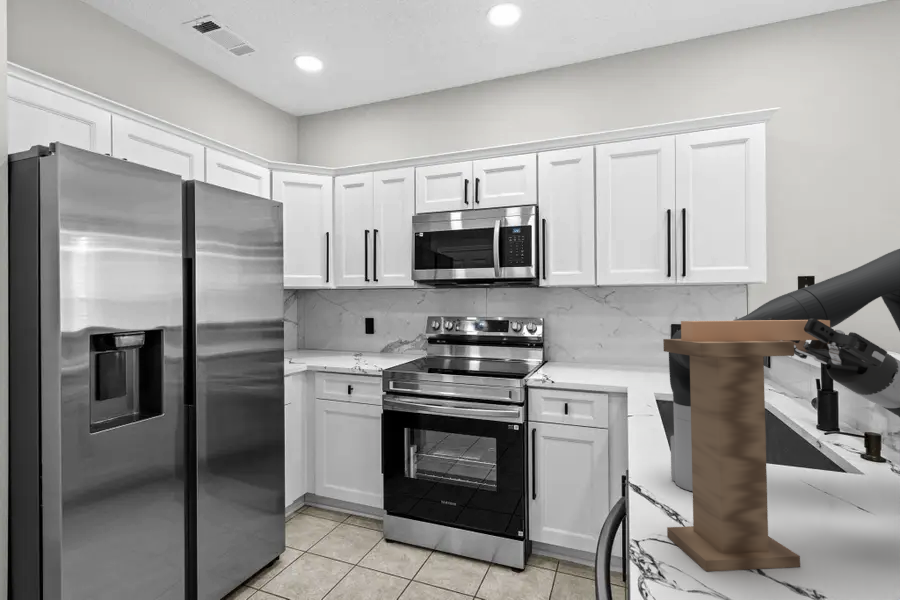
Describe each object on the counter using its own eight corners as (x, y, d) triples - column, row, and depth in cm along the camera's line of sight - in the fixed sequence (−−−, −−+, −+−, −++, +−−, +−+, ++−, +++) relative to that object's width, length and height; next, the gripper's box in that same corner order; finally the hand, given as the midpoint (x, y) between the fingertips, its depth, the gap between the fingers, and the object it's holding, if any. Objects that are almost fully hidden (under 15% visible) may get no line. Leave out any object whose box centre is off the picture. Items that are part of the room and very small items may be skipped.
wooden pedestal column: (749, 533, 75) (744, 338, 76) (800, 566, 65) (793, 341, 66) (667, 536, 74) (663, 339, 75) (706, 571, 64) (700, 343, 65)
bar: (813, 338, 73) (813, 319, 73) (830, 339, 70) (829, 320, 70) (681, 340, 72) (681, 321, 72) (692, 341, 69) (692, 321, 69)
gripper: (841, 350, 80) (762, 303, 79) (934, 358, 65) (839, 301, 65) (822, 388, 79) (743, 341, 78) (911, 404, 65) (815, 347, 64)
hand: (786, 323), depth 71 cm, fingers open, 7 cm apart
